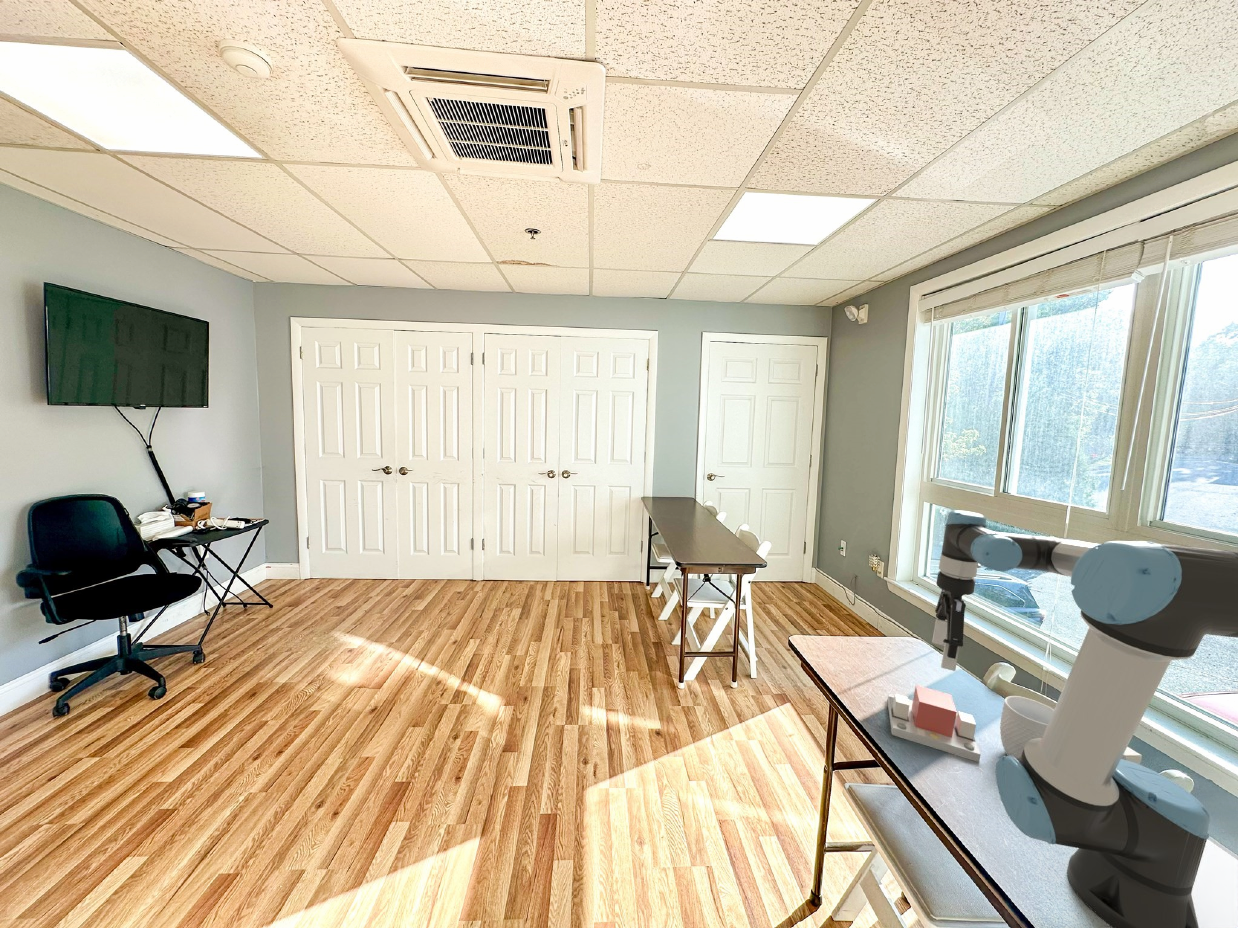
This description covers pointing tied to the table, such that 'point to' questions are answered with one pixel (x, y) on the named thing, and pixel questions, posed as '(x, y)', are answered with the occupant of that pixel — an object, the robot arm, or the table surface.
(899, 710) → the toggle
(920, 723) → the cap
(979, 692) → the table surface
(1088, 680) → the robot arm
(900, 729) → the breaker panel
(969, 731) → the toggle
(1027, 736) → the mug
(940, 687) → the table surface
